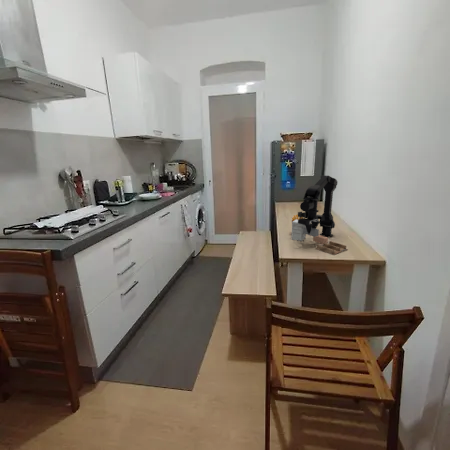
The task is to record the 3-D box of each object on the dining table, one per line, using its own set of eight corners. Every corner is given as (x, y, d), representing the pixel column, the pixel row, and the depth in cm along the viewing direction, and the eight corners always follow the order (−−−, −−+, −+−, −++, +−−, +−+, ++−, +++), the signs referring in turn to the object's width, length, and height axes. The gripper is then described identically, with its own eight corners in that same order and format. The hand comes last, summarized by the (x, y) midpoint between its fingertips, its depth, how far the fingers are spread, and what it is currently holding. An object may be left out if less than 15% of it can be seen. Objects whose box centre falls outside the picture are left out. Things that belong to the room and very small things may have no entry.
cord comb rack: (315, 248, 158) (315, 244, 157) (328, 244, 164) (328, 240, 164) (334, 255, 147) (334, 251, 146) (347, 250, 154) (348, 246, 153)
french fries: (291, 236, 183) (292, 215, 179) (290, 232, 190) (291, 212, 186) (304, 236, 181) (305, 215, 177) (303, 232, 189) (304, 212, 185)
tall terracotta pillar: (312, 240, 172) (313, 235, 171) (316, 239, 174) (317, 234, 173) (323, 244, 165) (324, 238, 163) (327, 243, 166) (327, 237, 165)
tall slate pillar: (302, 233, 164) (303, 227, 163) (306, 232, 166) (306, 226, 165) (314, 236, 157) (315, 230, 156) (318, 235, 159) (318, 229, 158)
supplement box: (295, 236, 181) (296, 219, 178) (305, 238, 177) (306, 220, 174) (290, 239, 176) (291, 221, 173) (301, 241, 171) (302, 223, 168)
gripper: (311, 204, 169) (309, 227, 173) (291, 208, 159) (290, 232, 163) (326, 207, 160) (324, 231, 164) (306, 211, 150) (304, 237, 154)
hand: (310, 232), depth 161 cm, fingers closed on tall slate pillar, 3 cm apart
